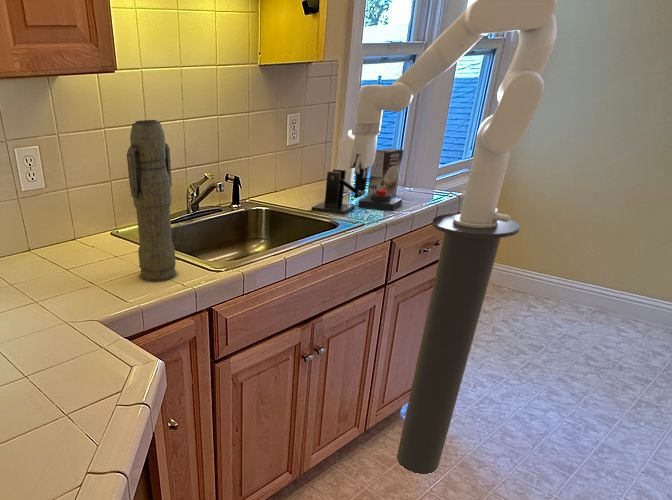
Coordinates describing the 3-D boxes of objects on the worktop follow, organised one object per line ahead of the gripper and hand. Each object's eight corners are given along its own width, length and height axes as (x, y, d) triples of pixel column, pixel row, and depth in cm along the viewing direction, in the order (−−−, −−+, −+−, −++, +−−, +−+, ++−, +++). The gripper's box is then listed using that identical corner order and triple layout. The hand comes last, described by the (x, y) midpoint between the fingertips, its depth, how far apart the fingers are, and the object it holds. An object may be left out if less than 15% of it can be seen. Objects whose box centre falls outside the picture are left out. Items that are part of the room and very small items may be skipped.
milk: (352, 189, 200) (360, 129, 189) (349, 192, 195) (356, 131, 184) (337, 188, 203) (343, 129, 191) (333, 191, 198) (340, 131, 187)
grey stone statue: (186, 270, 127) (178, 118, 109) (158, 286, 119) (145, 124, 101) (159, 265, 132) (147, 118, 114) (129, 279, 123) (112, 123, 106)
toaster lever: (362, 196, 169) (366, 190, 167) (355, 200, 165) (359, 194, 163) (334, 175, 172) (338, 169, 170) (327, 178, 168) (331, 172, 166)
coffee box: (380, 199, 185) (386, 152, 176) (366, 196, 189) (372, 150, 181) (396, 195, 189) (404, 149, 180) (383, 192, 193) (389, 147, 185)
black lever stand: (354, 208, 174) (359, 170, 167) (344, 214, 168) (348, 174, 161) (322, 205, 180) (325, 167, 174) (311, 210, 174) (314, 171, 168)
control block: (401, 205, 175) (403, 193, 173) (392, 210, 169) (394, 198, 167) (367, 201, 182) (369, 190, 180) (358, 207, 176) (359, 195, 174)
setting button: (388, 195, 174) (388, 189, 173) (384, 197, 171) (385, 191, 171) (377, 194, 176) (378, 188, 175) (374, 196, 173) (374, 190, 173)
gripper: (364, 126, 163) (357, 184, 173) (346, 131, 153) (339, 193, 163) (387, 127, 159) (379, 187, 168) (370, 132, 149) (362, 195, 158)
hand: (359, 189), depth 165 cm, fingers closed
